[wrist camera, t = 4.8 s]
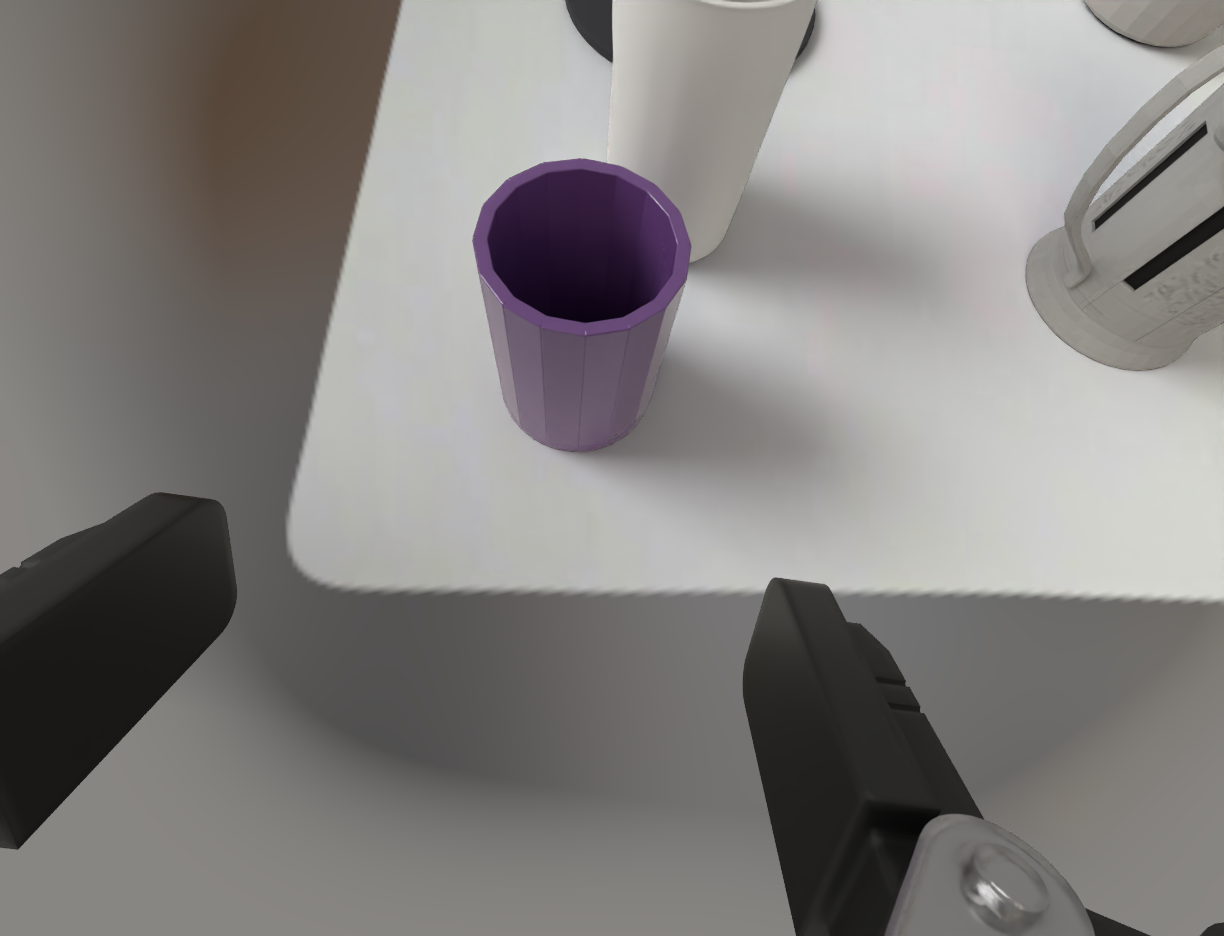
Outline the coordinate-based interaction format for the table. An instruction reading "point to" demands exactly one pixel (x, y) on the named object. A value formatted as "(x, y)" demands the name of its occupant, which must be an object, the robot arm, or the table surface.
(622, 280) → the cup
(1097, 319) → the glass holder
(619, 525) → the table surface
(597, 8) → the mat
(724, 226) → the mug
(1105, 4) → the potted plant
